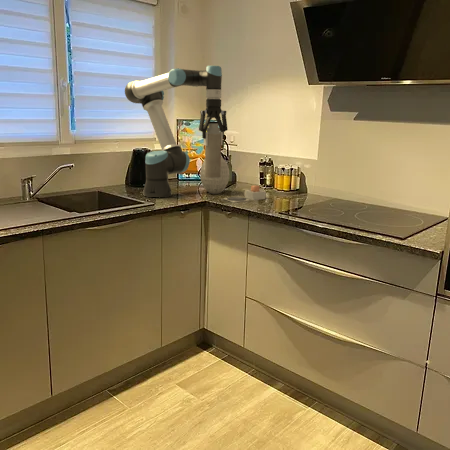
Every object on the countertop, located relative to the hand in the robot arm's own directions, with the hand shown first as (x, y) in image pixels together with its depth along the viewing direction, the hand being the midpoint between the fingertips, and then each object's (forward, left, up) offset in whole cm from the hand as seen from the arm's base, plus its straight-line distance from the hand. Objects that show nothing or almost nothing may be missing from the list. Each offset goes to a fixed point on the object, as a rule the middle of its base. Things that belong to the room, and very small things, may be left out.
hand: (213, 145), depth 237 cm
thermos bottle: (0, 0, -16) cm, 16 cm away
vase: (-16, +10, -28) cm, 34 cm away
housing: (+8, +21, -28) cm, 36 cm away
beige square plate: (+7, +10, -28) cm, 31 cm away
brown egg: (+8, +21, -25) cm, 34 cm away
